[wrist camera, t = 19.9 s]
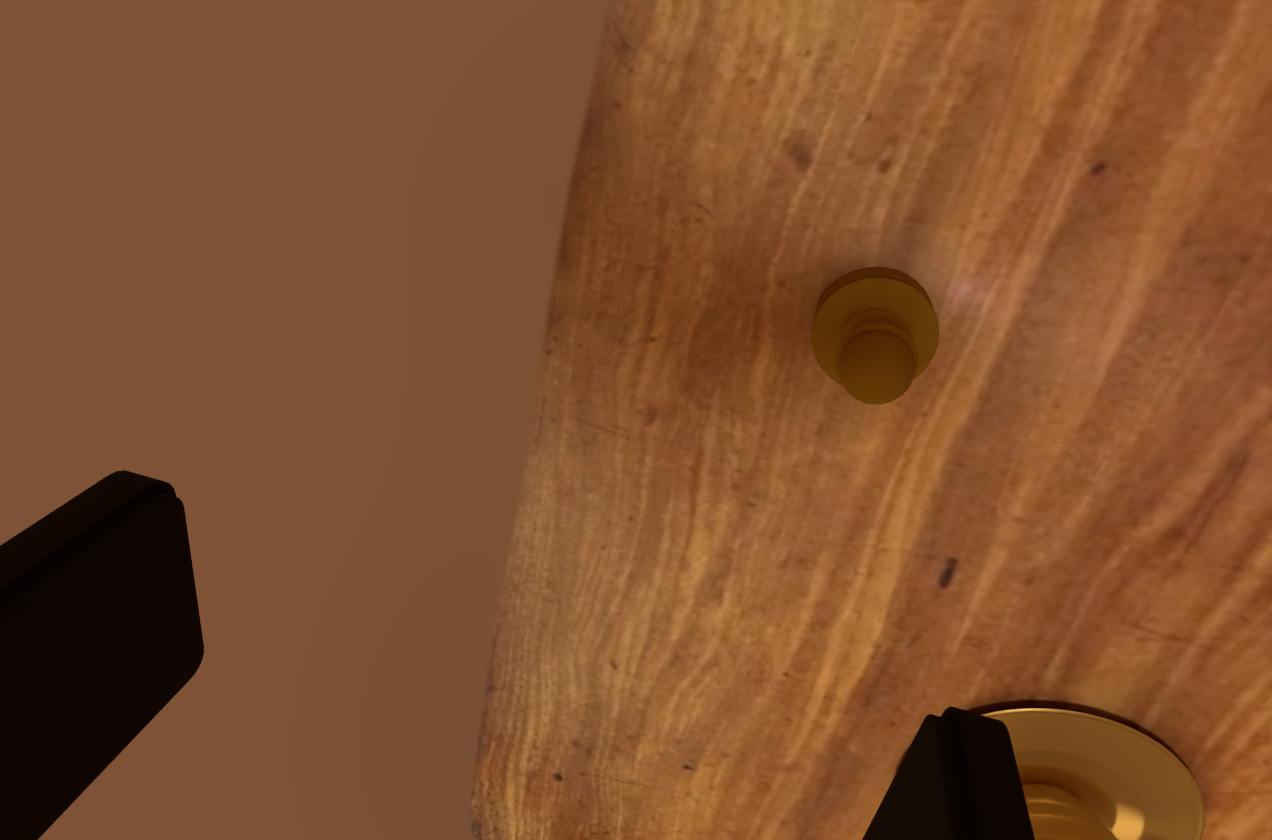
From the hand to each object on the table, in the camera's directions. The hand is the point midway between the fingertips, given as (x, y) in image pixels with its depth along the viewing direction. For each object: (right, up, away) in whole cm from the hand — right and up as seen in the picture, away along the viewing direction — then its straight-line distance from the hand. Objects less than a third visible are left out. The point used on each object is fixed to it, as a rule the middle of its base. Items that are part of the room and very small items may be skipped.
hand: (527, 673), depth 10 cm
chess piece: (+9, +6, +17) cm, 21 cm away
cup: (+19, -13, +25) cm, 34 cm away
